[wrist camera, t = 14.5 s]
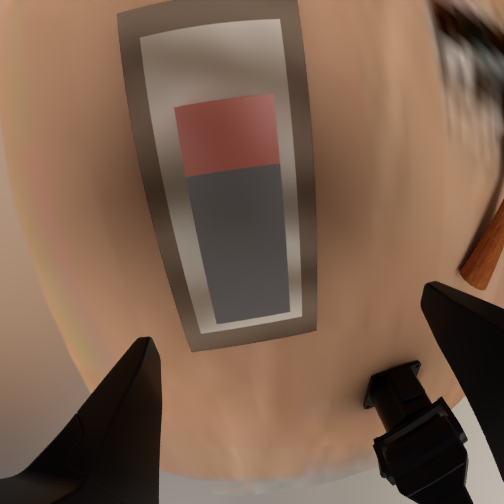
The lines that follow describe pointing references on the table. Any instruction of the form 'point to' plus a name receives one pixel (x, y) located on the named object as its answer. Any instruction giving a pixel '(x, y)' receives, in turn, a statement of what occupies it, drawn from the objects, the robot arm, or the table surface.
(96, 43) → the table surface
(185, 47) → the board
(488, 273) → the purple maraca
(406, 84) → the table surface
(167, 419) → the table surface
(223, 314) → the red and gray block
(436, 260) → the table surface
